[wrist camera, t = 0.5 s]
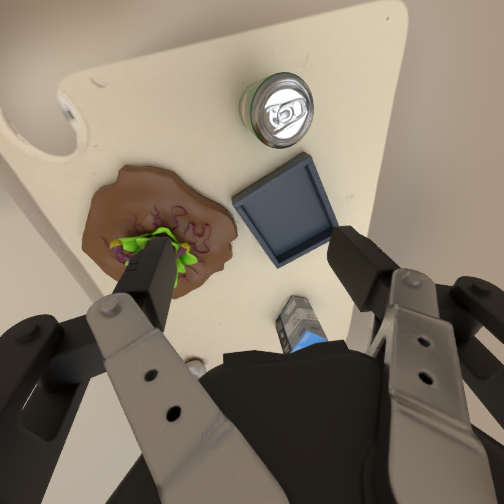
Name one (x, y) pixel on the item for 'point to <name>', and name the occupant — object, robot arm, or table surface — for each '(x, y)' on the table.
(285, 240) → the container
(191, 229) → the plant
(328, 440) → the robot arm
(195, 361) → the rubber duck
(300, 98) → the soda can
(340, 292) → the table surface
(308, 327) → the label tape box
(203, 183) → the table surface
